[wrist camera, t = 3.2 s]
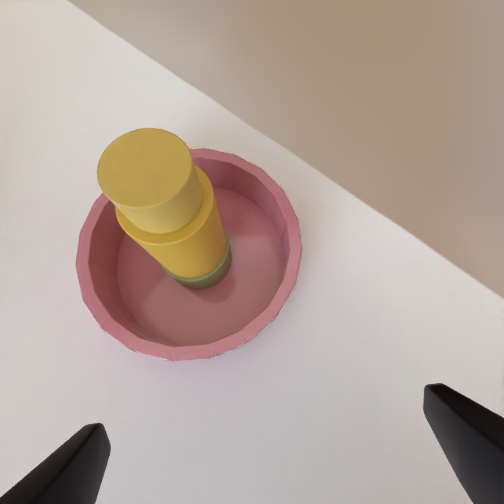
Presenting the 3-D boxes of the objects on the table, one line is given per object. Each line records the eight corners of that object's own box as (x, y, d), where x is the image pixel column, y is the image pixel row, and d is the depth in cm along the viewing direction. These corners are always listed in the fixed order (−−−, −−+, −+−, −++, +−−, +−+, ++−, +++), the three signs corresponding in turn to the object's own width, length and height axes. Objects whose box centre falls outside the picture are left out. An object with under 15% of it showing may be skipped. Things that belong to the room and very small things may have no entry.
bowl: (180, 402, 19) (160, 419, 15) (76, 250, 23) (36, 229, 18) (328, 270, 22) (347, 253, 18) (216, 154, 26) (210, 116, 21)
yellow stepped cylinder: (193, 303, 21) (123, 254, 9) (156, 254, 22) (53, 158, 10) (244, 261, 22) (237, 172, 10) (206, 217, 23) (161, 94, 12)
